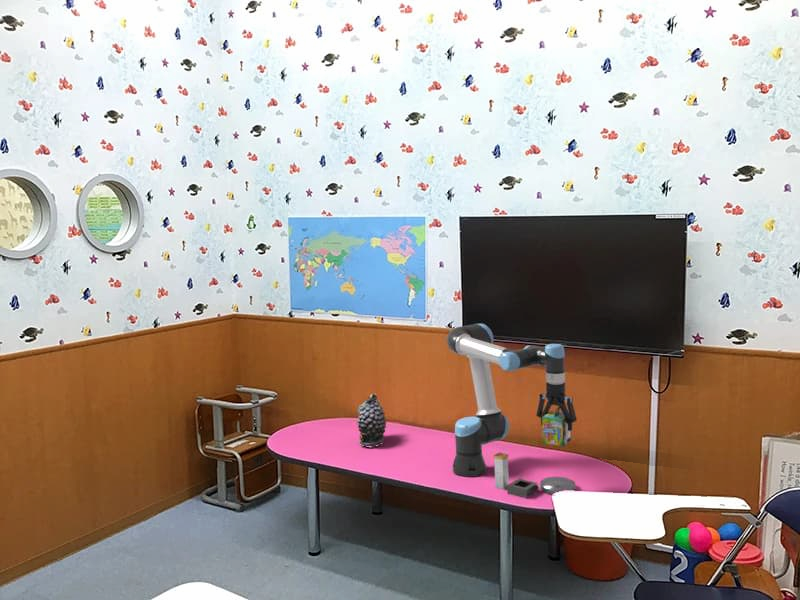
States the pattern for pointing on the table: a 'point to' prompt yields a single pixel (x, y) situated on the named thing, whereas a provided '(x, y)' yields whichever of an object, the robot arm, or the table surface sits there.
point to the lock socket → (522, 488)
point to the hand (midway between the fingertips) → (556, 435)
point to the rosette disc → (556, 484)
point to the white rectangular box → (501, 470)
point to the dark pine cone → (371, 422)
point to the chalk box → (554, 428)
